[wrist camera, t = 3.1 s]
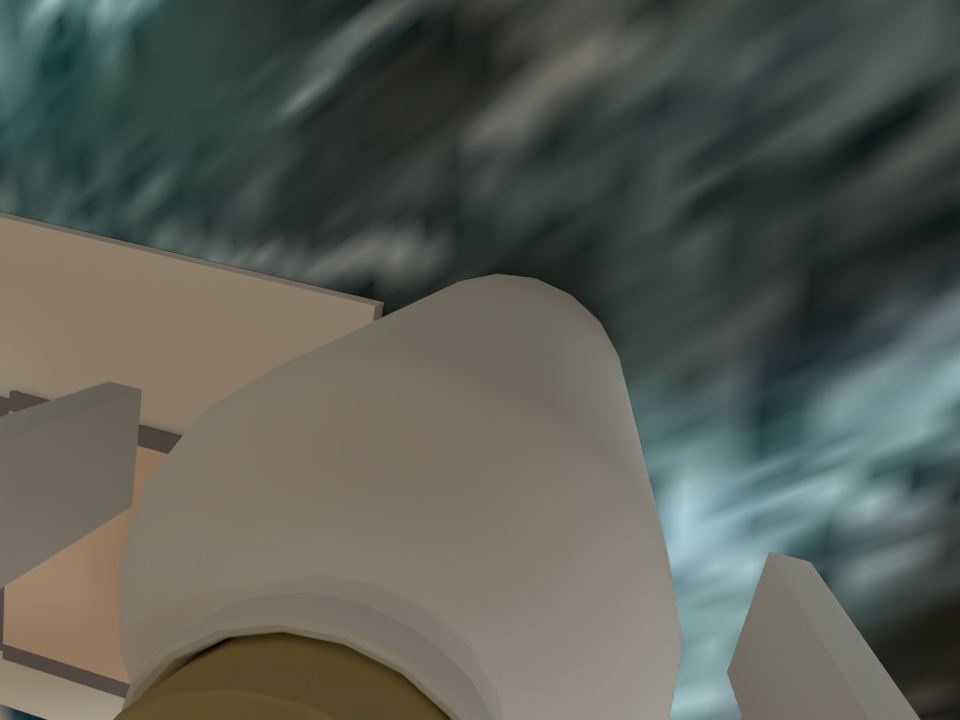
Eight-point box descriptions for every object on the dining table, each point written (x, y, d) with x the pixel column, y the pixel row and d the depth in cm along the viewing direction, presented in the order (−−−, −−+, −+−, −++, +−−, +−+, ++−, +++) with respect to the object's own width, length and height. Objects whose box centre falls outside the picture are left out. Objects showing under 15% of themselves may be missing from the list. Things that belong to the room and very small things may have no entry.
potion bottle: (624, 496, 23) (739, 1313, 6) (403, 492, 25) (-34, 1143, 7) (622, 266, 21) (779, 452, 4) (386, 276, 23) (-241, 446, 6)
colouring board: (-5, 211, 25) (-34, 210, 24) (383, 302, 23) (373, 306, 22) (-14, 677, 30) (-38, 695, 29) (302, 781, 28) (290, 805, 27)
